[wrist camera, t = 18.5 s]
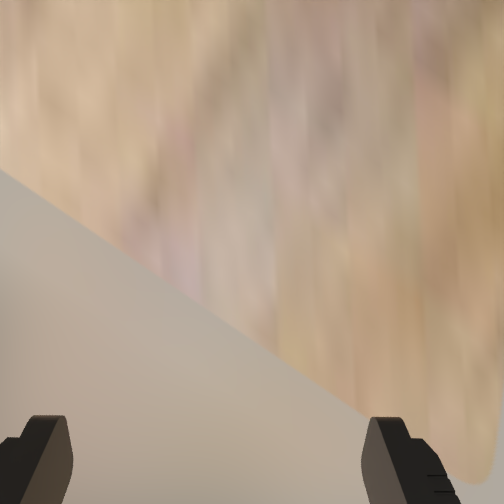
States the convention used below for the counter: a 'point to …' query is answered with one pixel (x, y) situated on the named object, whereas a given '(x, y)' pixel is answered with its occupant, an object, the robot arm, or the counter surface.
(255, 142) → the counter surface
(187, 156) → the counter surface
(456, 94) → the counter surface
